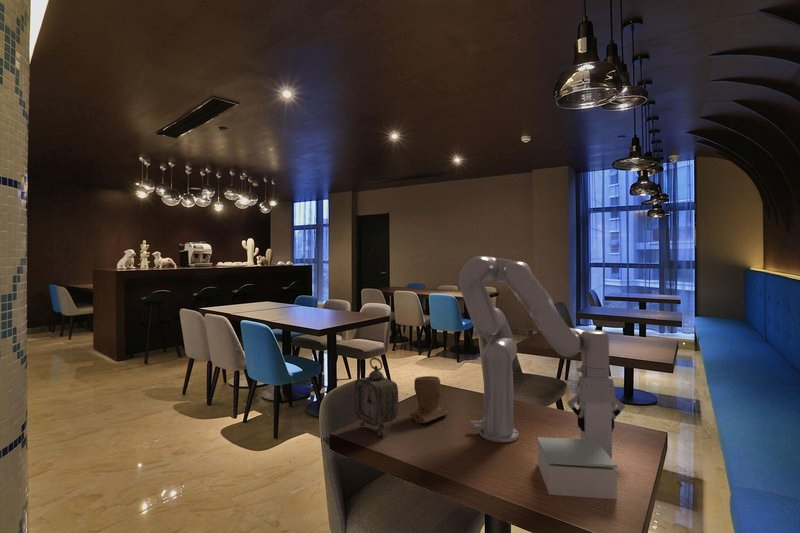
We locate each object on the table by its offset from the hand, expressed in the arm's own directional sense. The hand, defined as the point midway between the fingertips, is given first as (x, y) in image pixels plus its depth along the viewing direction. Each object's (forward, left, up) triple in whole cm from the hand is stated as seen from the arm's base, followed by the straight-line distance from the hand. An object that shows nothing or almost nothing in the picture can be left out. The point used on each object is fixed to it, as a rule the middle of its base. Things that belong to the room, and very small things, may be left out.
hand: (595, 429), depth 126 cm
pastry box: (-11, -19, -6) cm, 23 cm away
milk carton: (0, 0, -7) cm, 7 cm away
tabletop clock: (-69, +7, -7) cm, 70 cm away
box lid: (-11, -19, +1) cm, 22 cm away
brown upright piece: (-53, +21, -7) cm, 57 cm away
